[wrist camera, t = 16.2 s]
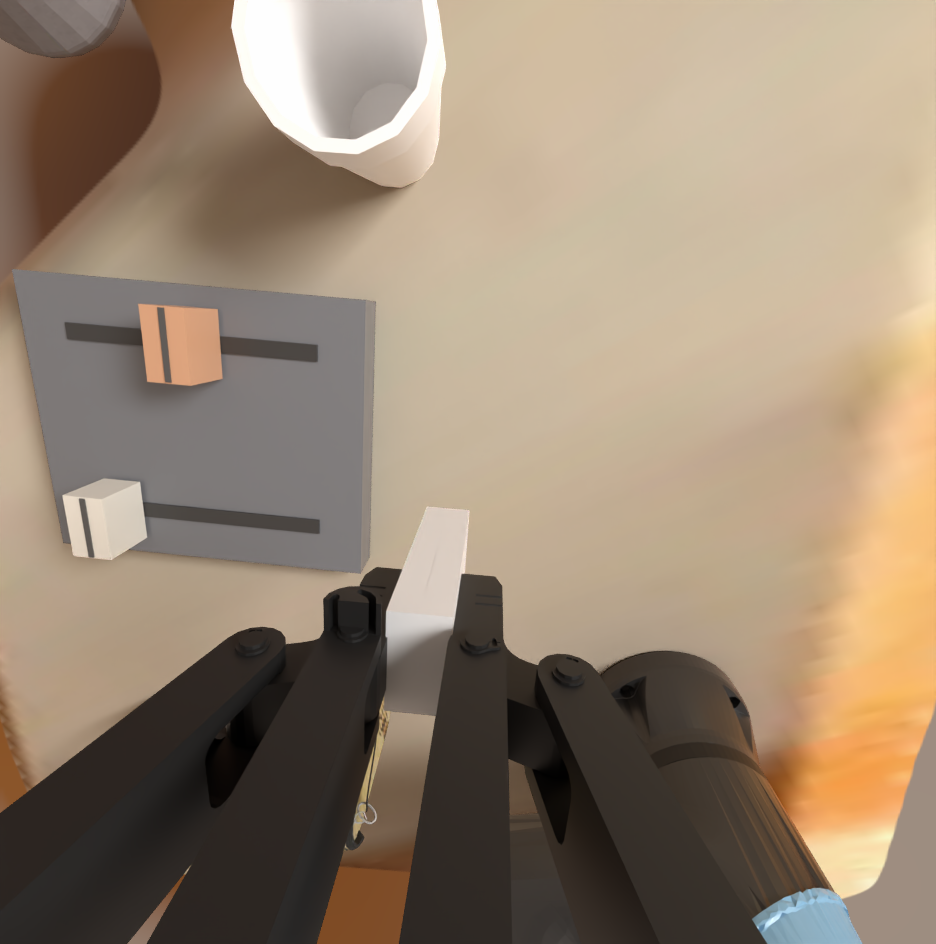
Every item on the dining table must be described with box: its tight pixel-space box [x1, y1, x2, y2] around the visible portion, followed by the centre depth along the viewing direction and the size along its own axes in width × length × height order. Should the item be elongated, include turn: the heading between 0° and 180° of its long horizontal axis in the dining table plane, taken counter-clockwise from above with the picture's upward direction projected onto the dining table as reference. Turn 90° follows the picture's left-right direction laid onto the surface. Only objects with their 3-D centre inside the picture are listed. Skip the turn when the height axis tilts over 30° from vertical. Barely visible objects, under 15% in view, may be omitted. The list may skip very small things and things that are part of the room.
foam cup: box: [231, 0, 446, 188], centre depth 28 cm, size 10×9×13 cm
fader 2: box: [138, 304, 223, 386], centre depth 34 cm, size 5×3×4 cm, turn 175°
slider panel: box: [12, 269, 376, 574], centre depth 40 cm, size 22×26×3 cm
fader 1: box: [62, 478, 147, 560], centre depth 38 cm, size 5×3×4 cm, turn 175°
